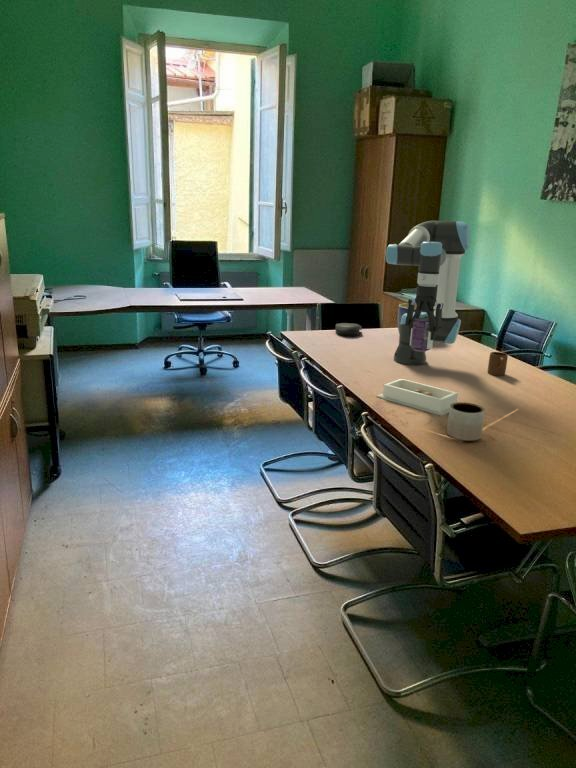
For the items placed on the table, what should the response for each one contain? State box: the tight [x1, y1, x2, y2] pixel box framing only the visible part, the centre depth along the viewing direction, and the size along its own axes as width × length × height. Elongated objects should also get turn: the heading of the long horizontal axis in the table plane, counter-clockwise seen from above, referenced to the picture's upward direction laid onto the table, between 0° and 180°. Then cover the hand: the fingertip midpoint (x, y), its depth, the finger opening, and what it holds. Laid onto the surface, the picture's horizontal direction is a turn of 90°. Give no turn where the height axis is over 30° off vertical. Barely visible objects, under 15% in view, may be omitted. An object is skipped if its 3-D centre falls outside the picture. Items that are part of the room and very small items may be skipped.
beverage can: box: [411, 318, 431, 353], centre depth 215 cm, size 7×7×12 cm
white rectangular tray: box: [375, 378, 459, 417], centre depth 217 cm, size 28×16×5 cm, turn 47°
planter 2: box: [446, 401, 485, 442], centre depth 184 cm, size 11×11×10 cm
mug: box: [487, 351, 509, 377], centre depth 255 cm, size 12×8×9 cm, turn 175°
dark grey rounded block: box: [335, 322, 363, 338], centre depth 322 cm, size 14×18×8 cm
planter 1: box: [397, 302, 436, 335], centre depth 318 cm, size 21×21×19 cm
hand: (420, 346), depth 216 cm, fingers closed on beverage can, 7 cm apart
